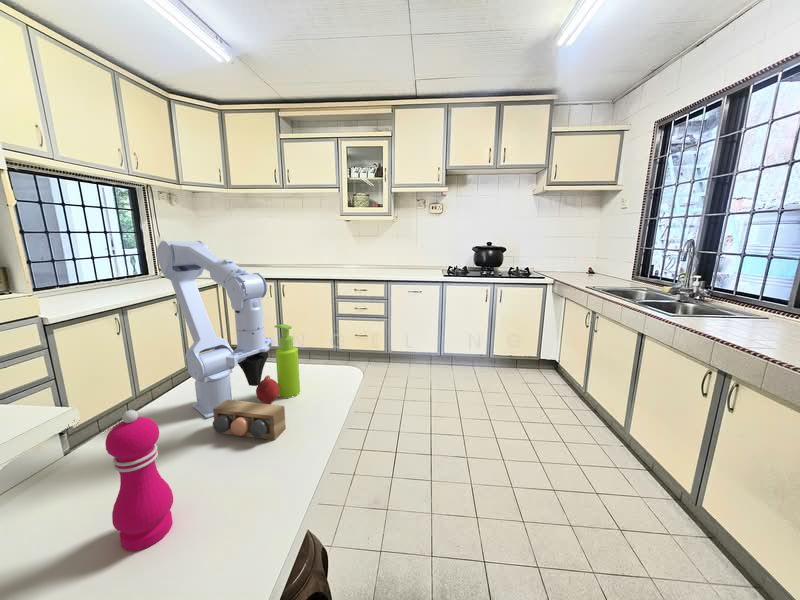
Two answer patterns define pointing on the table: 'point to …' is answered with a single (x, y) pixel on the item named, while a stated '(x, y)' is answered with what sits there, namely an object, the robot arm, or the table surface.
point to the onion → (267, 390)
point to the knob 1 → (223, 423)
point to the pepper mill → (139, 483)
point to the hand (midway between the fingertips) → (254, 384)
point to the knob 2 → (259, 427)
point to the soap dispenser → (287, 364)
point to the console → (254, 415)
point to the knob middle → (241, 425)
